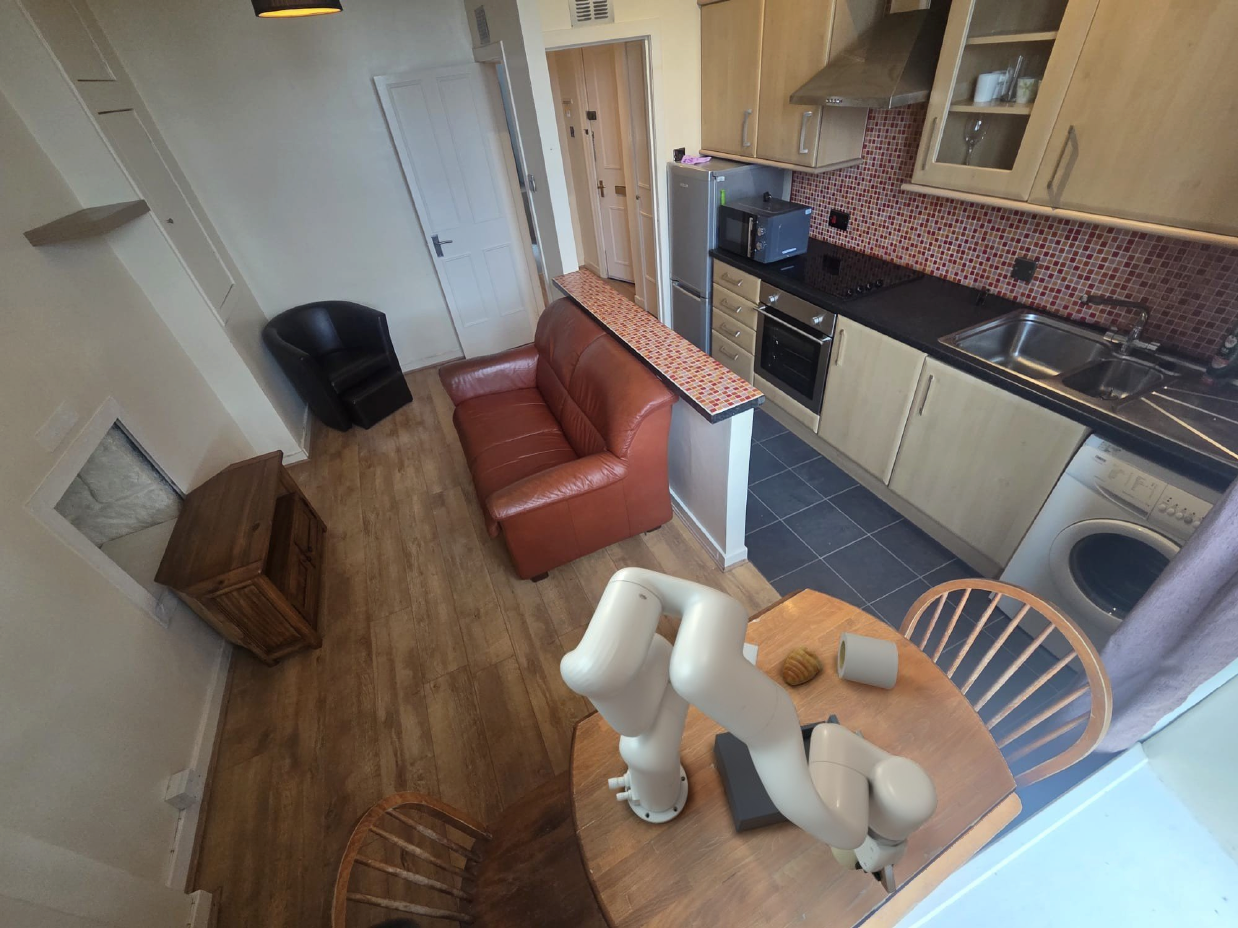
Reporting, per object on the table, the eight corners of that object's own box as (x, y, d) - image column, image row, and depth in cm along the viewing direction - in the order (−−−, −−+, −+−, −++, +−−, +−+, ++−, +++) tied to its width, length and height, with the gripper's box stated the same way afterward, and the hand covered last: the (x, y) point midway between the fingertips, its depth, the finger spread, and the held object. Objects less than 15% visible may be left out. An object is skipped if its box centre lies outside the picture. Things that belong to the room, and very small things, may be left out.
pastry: (798, 694, 113) (800, 687, 111) (773, 672, 118) (775, 664, 115) (823, 667, 117) (826, 659, 115) (798, 647, 122) (801, 639, 119)
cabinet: (775, 736, 108) (781, 720, 102) (806, 817, 97) (814, 803, 91) (713, 749, 107) (715, 734, 101) (736, 832, 96) (740, 820, 90)
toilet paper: (838, 685, 114) (847, 664, 107) (837, 645, 121) (846, 623, 114) (887, 697, 112) (900, 676, 105) (883, 655, 118) (895, 633, 112)
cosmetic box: (749, 696, 114) (755, 671, 106) (730, 690, 115) (734, 665, 107) (754, 671, 118) (759, 645, 110) (735, 666, 119) (739, 640, 111)
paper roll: (840, 872, 86) (857, 856, 77) (824, 833, 90) (839, 813, 81) (871, 865, 86) (892, 848, 78) (855, 826, 90) (872, 806, 82)
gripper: (829, 752, 78) (809, 788, 91) (891, 894, 66) (859, 914, 78) (875, 741, 79) (850, 779, 91) (946, 881, 66) (905, 903, 78)
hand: (854, 841), depth 84 cm, fingers closed on paper roll, 5 cm apart
